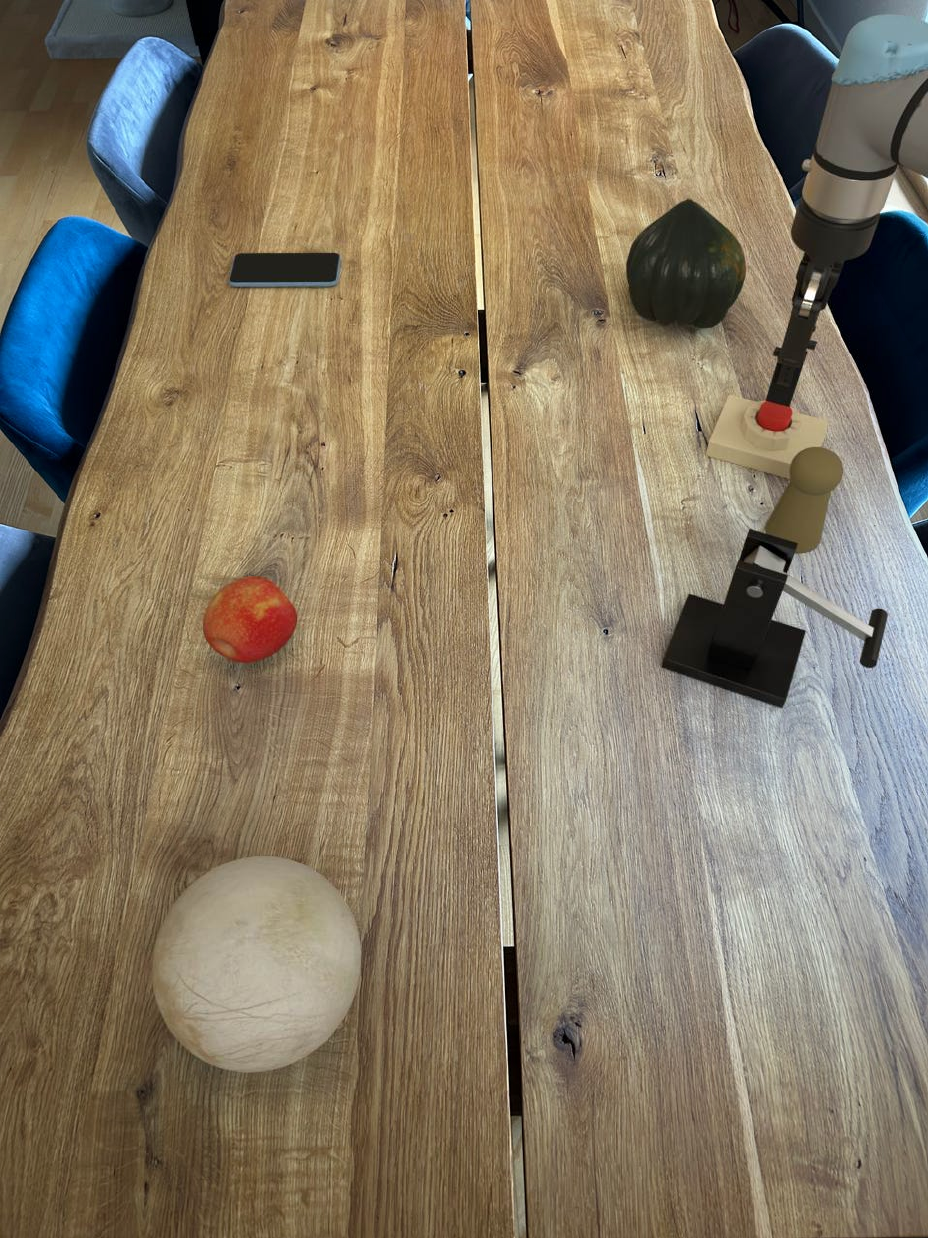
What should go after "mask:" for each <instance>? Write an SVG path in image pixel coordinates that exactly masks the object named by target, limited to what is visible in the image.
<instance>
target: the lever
mask: <svg viewBox="0 0 928 1238" xmlns="http://www.w3.org/2000/svg"><path fill="white" fill-rule="evenodd" d="M744 562H747V563H751V564H754V565H757V566H761V567H764V568H767V569H770V570H774V571H777V572H780V573H783V574H786V573H785V572H783V569H784V566H785V563H786V561H785V560H783V559H781V558H780V557H778V556H777V555H775V554H773V553H772V552H770V551H769V550H767V549H765V548H764V547H762V546H759V547H758V548H756V549H755V550H754V551H753V552H752V553H751V554H750V555H749V556H747V557H746V558H745V560H744ZM787 575H788V578H787V581H786V584H785V586H784V589H783V591H782V592H784V593H786V594H787V595H789V596H790V597H792V598H794V599H796V600H797V601H799V602H800V603H802V604H803V605H805V606H807V607H808V608H810V609H811V610H813V611H814V612H816V613H818V614H820V615H821V616H822V617H824V618H826V619H828V620H829V621H831V622H832V623H834V624H835V625H837V626H839V627H840V628H842V629H844V630H845V631H847V632H849V633H850V634H852V635H853V636H855V637H856V638H858V639H860V640H861V641H862V642H863V644H862V649H861V653H860V657H859V664H860V665H861V666H862V667H863V668H866V669H874V668H875V667H876V666H877V665H878V661H879V657H880V652H881V647H882V645H883V644H882V643H883V638H884V635H885V630H886V625H887V622H888V617H889V613H888V611H886V610H885V609H884V608H875V609H872V610H871V612H870V616H869V620H868V623H866V622H865V621H864V620H862V619H860V618H859V617H857V616H856V615H854V614H852V613H850V612H849V611H848V610H846V609H844V608H842V607H841V606H840V605H837V604H836V603H835V602H833V601H831V600H830V599H828V598H827V597H825V596H823V595H822V594H820V593H818V592H817V591H815V590H814V589H812V588H810V587H809V586H807V585H806V584H804V583H802V582H800V580H798V579H796V578H794V577H793V576H791V574H788V573H787Z"/></svg>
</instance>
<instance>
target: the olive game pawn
mask: <svg viewBox="0 0 928 1238" xmlns="http://www.w3.org/2000/svg"><path fill="white" fill-rule="evenodd" d="M843 476H844V464H843V461H842V460H841V458H840V456H839V455H838V454H837V453H835V452H834V451H832V450H831V449H828V448H825V447H822V446H821V447H809V448H806V449H804V450H802V451H800V452H799V453H798V454H797V455H796V456H795V457H794V458H793V460H792V463H791V466H790V479H789V480H788V481H789V482H788V484H787V485H786V487H785V488H784V490H783V492H782V493H781V496H780V498H779V499H778V501H777V503H776V505H775V506H774V508H773V509H772V512H771V513H770V515H769V516H768V519H767V521H766V523H765V526H764V530H765V533H766V534H769V535H773V536H776V537H779V538H783V539H786V540H789V541H793V542H796V543H798V546H797V549H796V552H795V554H804V553H805V554H806V553H810V552H812V551H813V550H816V549H817V547H818V546H819V545H820V544H821V541H822V536H823V532H824V528H825V522H826V517H827V514H828V508H829V503H830V498H831V494H832V492H833V491H834V490H835V489H836V488H838V486H839V485H840V484H841V481H842V479H843Z"/></svg>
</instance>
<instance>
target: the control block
mask: <svg viewBox="0 0 928 1238" xmlns="http://www.w3.org/2000/svg"><path fill="white" fill-rule="evenodd" d="M764 402H765V400H758V401H755V400H752V399H748V398H743V397H740V396H736V395H732V394H727V397H726V400H725V402H724V404H723V406H722V410H721V411H720V414H719V417H718V419H717V421H716V424H715V426H714V428H713V431H712V433H711V436H710V438H709V440H708V444H707V447H706V451H705V456H706V457H710V458H713V459H716V460H720V461H724V462H728V463H731V464H735V465H738V466H742V467H745V468H748V469H752V470H756V471H759V472H763V473H766V474H770V475H774V476H777V477H781V478H784V479H788V480H791V479H790V466H791V463H792V460H793V458H794V457H795V456H796V455H797V454H798V453H799V452H800V451H802V450H804V449H806V448H809V447H822V446H823V443H824V440H825V437H826V434H827V430H828V429H829V424H830V420H827V419H823V418H819V417H815V416H812V415H808V414H804V413H801V412H799V411H798V410H797V409H795V408H793V406H791V405H790V407H791V409H792V417H791V420H790V423H789V426H788V427H787V428H786V429H785V430H784V431H780V432H773V431H769V430H765V429H763V428H762V427H761V426H759V424H758V422H757V417H758V413H759V410H760V406H761V405H762V403H764Z"/></svg>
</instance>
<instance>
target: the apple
mask: <svg viewBox="0 0 928 1238" xmlns="http://www.w3.org/2000/svg"><path fill="white" fill-rule="evenodd" d="M297 624H298V613H297V609H296V607H295V606H294V604H293V602H292V601H291V600H290V599H289V597H288V596H287V595H286V593H285V592H284V591H283V590H282V589H281V588H280V587H279V586H278V585H277V584H276V583H274V581H272V580H270V579H268V578H265V577H263V576H256V575H249V576H243V577H240V578H237V579H235V580H233V581H231V582H229V583H228V584H226V585H224V586H223V587H222V588H221V589H219V590H218V591H217V592H216V593H215V595H214V596H213V597H212V598H211V600H210V601H209V603H208V605H207V607H206V608H205V612H204V615H203V619H202V632H203V636H204V639H205V641H206V643H207V644H208V645H209V646H210V647H211V648H212V649H213V650H214V651H215V652H216V653H218V654H219V655H221V656H223V657H224V658H226V659H228V660H230V661H233V662H236V663H241V664H249V663H255V662H259V661H263V660H265V659H267V658H270V657H271V656H273V655H274V654H276V653H277V652H279V651H280V650H281V649H282V648H283V647H285V645H287V644H288V642H289V641H290V639H291V638H292V636H293V634H294V632H295V630H296V628H297Z"/></svg>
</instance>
